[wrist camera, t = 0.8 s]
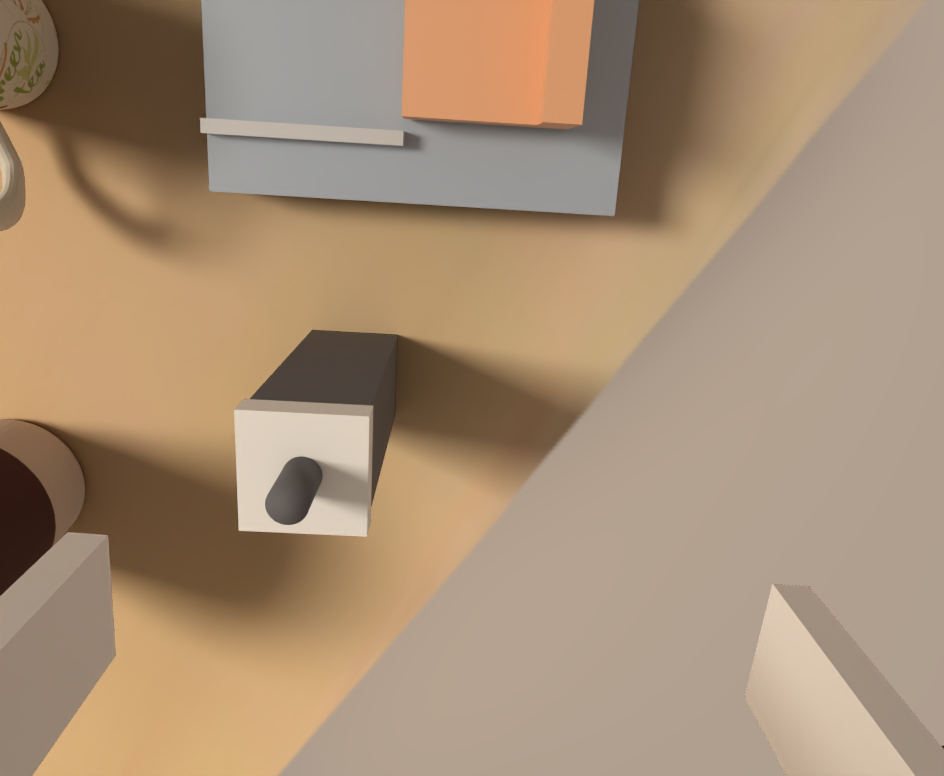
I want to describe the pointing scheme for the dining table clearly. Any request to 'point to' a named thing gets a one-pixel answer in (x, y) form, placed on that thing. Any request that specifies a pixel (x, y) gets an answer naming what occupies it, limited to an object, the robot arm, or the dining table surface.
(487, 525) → the dining table surface
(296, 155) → the socket plate
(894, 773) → the robot arm
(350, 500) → the plug
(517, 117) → the block
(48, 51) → the mug
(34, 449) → the coffee cup
